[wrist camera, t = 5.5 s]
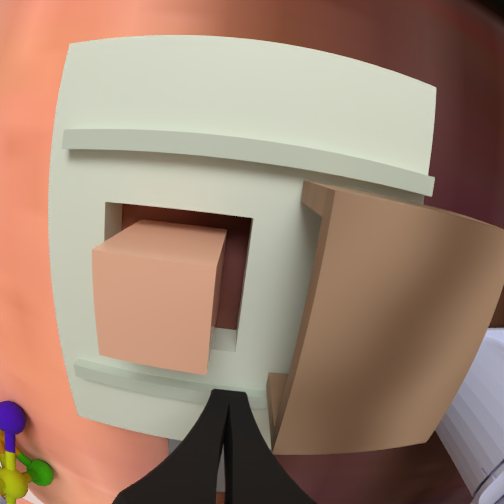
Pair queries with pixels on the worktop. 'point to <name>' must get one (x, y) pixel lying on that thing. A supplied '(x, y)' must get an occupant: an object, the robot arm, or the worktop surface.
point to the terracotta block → (159, 294)
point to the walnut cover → (384, 323)
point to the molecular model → (4, 450)
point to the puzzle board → (215, 192)
